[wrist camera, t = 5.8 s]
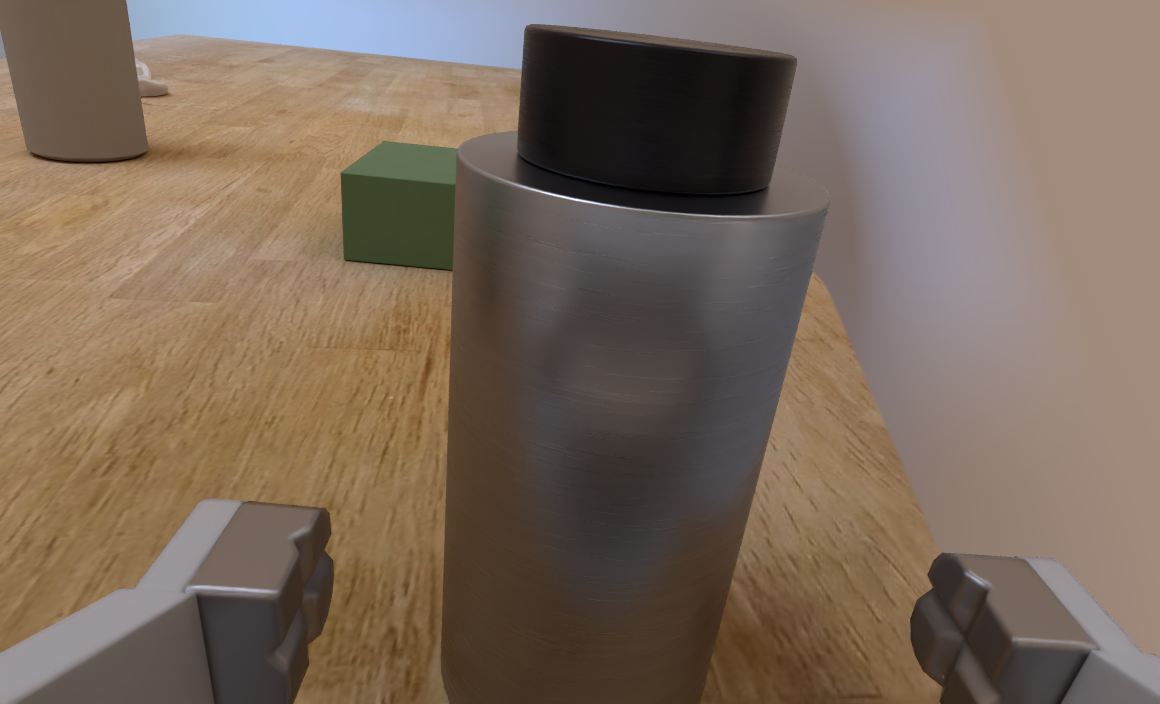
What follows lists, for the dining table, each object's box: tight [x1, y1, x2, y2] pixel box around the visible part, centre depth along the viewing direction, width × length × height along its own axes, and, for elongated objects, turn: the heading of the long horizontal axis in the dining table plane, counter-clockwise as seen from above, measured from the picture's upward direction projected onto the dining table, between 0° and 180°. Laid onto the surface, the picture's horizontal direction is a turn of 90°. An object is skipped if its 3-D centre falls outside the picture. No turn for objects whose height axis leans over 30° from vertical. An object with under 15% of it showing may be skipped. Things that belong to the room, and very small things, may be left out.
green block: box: [341, 141, 458, 270], centre depth 44 cm, size 10×10×5 cm
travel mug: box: [0, 0, 148, 162], centre depth 52 cm, size 8×8×18 cm
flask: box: [441, 24, 830, 704], centre depth 15 cm, size 6×6×14 cm
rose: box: [135, 58, 168, 97], centre depth 82 cm, size 10×4×10 cm
